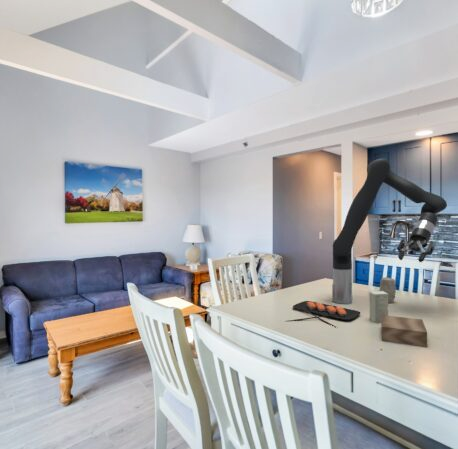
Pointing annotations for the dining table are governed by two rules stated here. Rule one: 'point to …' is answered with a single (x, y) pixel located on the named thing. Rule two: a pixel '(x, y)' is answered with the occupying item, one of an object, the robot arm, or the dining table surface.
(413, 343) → the block
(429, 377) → the dining table surface
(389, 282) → the carving
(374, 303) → the skincare box
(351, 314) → the sushi plate
